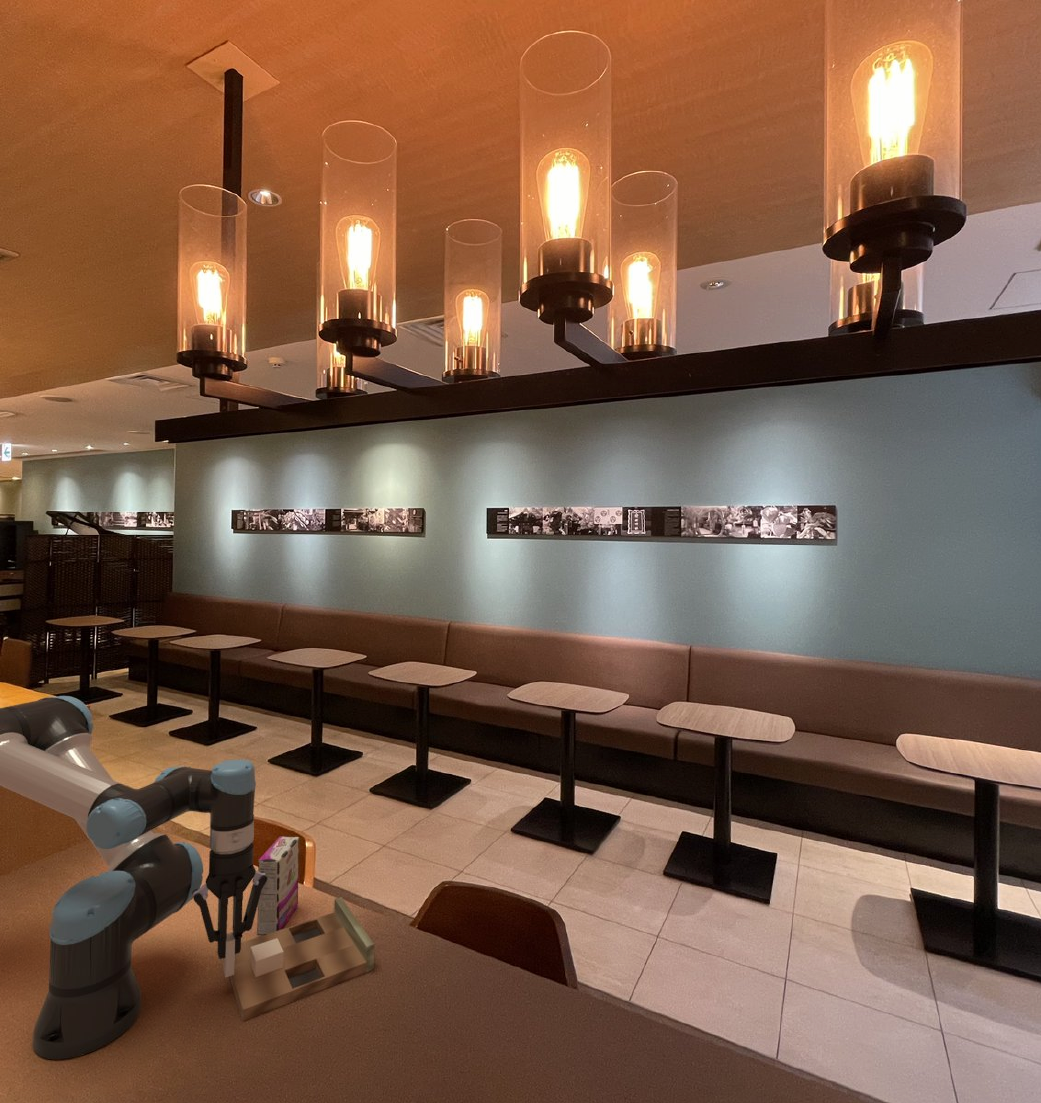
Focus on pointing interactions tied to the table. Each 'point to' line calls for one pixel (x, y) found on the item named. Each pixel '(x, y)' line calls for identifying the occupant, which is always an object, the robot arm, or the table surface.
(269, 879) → the candy bar box
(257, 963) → the block
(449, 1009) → the table surface
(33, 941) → the table surface
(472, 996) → the table surface
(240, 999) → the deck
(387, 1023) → the table surface
